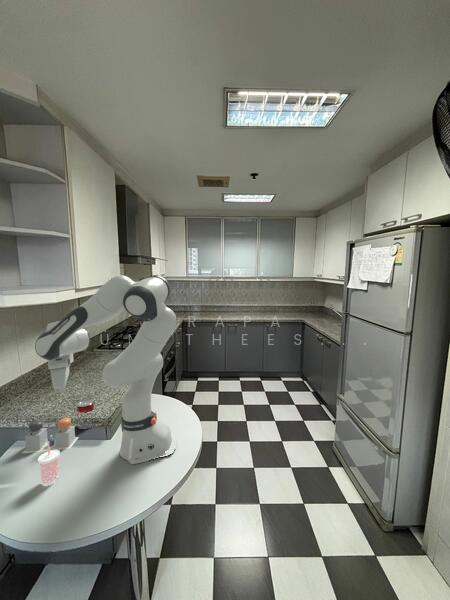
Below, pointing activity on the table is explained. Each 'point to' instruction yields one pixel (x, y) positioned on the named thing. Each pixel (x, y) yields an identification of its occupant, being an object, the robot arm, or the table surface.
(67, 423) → the knob orange
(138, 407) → the robot arm
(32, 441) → the mount
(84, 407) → the soda can
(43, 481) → the beverage cup
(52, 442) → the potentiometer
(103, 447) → the table surface
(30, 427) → the knob black
